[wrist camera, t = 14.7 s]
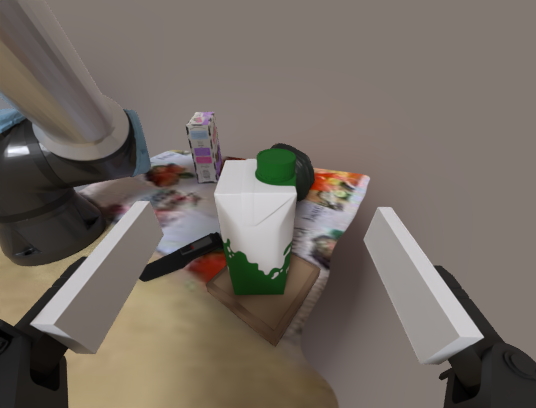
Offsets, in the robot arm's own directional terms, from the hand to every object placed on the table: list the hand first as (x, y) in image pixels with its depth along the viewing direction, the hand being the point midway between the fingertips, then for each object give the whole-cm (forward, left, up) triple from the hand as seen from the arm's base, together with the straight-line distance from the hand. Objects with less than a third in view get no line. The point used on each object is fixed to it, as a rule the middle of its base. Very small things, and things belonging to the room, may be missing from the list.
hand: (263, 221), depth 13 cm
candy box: (-43, +29, -23) cm, 57 cm away
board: (-6, +8, -23) cm, 25 cm away
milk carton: (-7, +8, -20) cm, 23 cm away
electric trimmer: (-21, +4, -23) cm, 31 cm away
